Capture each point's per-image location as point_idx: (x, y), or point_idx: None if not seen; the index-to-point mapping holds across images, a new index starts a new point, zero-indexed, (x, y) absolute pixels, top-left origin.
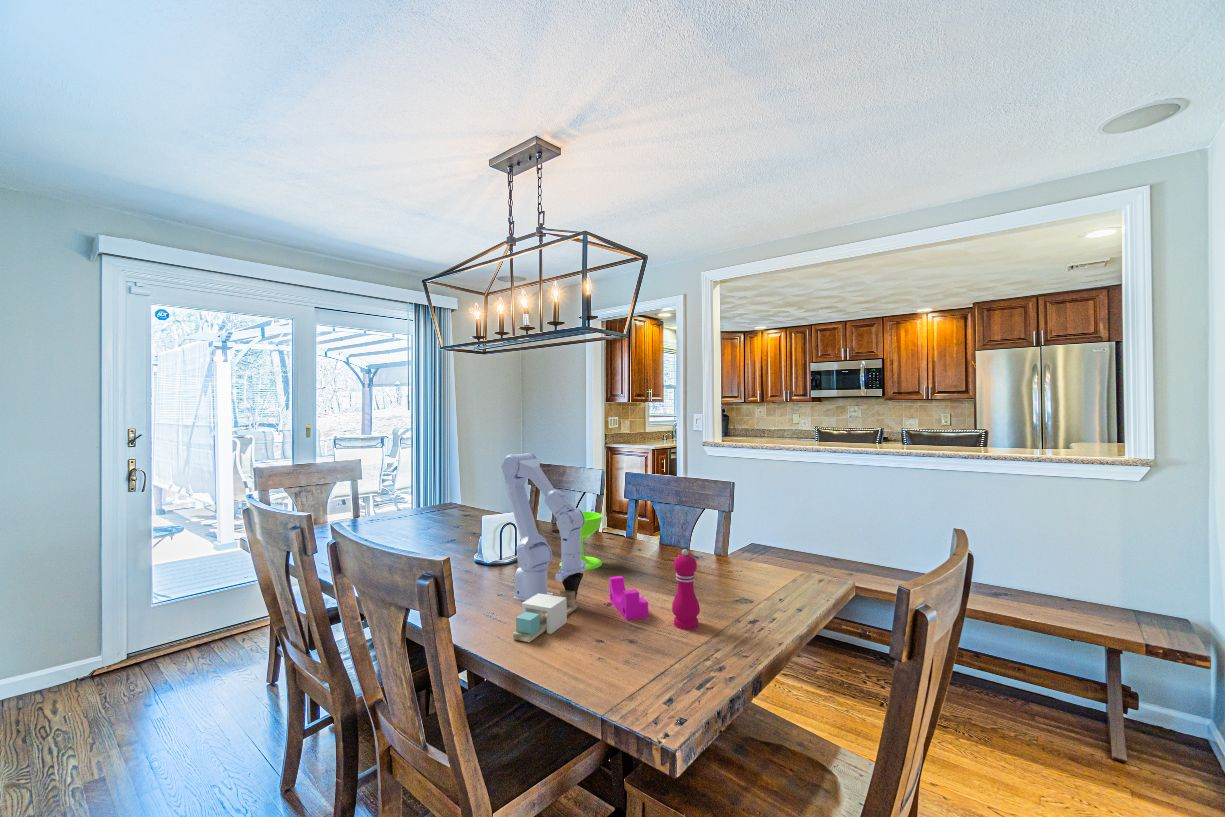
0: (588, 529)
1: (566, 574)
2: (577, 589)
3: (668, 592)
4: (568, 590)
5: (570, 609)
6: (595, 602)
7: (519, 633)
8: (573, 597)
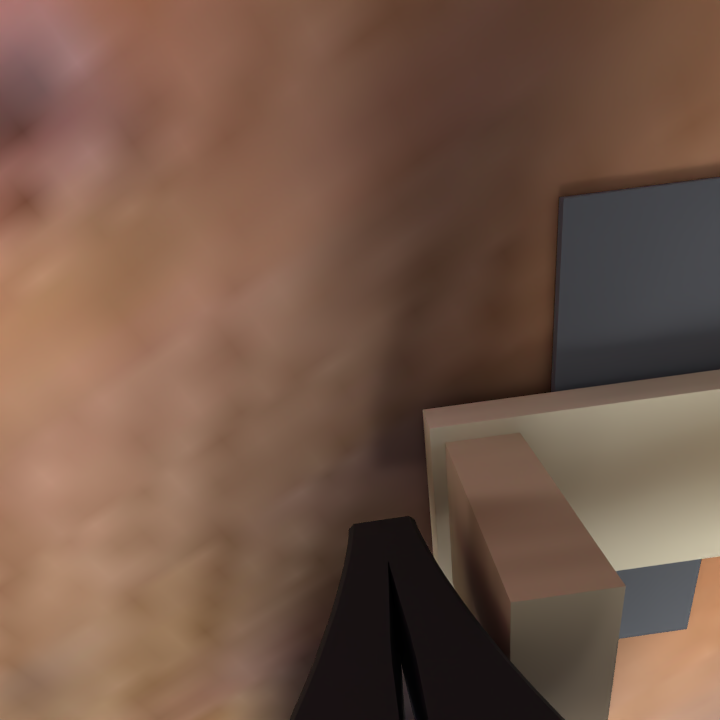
0: None
1: None
2: (349, 633)
3: None
4: None
5: (592, 412)
6: (70, 352)
7: None
8: (537, 520)
